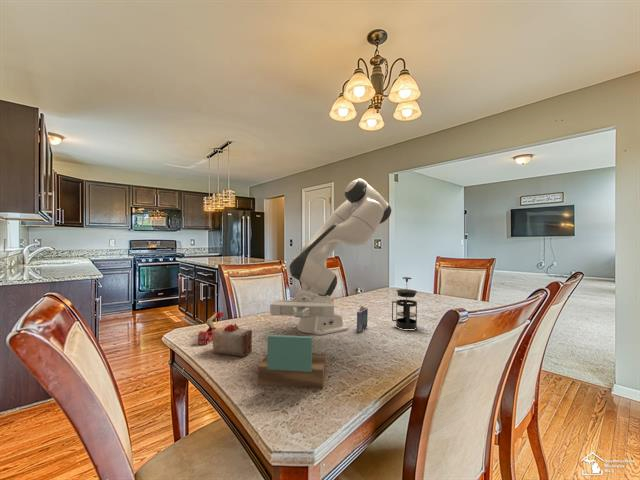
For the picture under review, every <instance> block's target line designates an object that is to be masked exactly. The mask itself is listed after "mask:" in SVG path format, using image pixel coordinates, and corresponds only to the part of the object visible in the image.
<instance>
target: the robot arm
mask: <svg viewBox="0 0 640 480" xmlns="http://www.w3.org/2000/svg"><path fill="white" fill-rule="evenodd" d="M344 196H345V198H346V200H345V201H344V202H343V203H341V204H340V205H339V206H338V207H337V208H336V209H335V210H334V211H333V212H332V214H331V215H330V216H329V217H328V218H327V219H326V221H325V222H324V223H323V224H322V225H321V226H320V228H319V229H318V230H317V231H316V232H315V233H314V234H313V235H312V236H311V238H310V239H308V240H307V242H306V243H305V244H304V245H303V247H302V248H301V251H300V253H299V254H297V255H296V256H295V257H294V258H293V259H292V260H291V262H290V264H289V272H290V275H291V277H292V278H294V279H296V280H297V281H300V282H301V289H300V290H299V291H298V292H297V293H296V294H295V295H294V296H293V299H277V300H275V301H273V302H271V303H270V305H269V314H270V315H271V316H279V317H280V316H281V317H282V316H283V317H284V316H285V317H289V316H290V317H294V318H299V320H298V325H297V330H298V331H299V332H302V333H306V334H314V335H319V336H321V335H327V334H332V333H337V332H338V333H339V332H344V331H348V330H349V327H348V324H346V323H345V322H343V321H344V320H343V316H342V314H341V313H340V312H339V311H338V310H337V309H336V308H335V304H334V299H333V298H332V297H331V296H332V295H333V293H334V291H335V289H336V287H337V286H338V285H337V284H338V276H337V274H336V273H335V272H333V271H332V270H331V269H329V268H328V267H327V260H328V258H329V257H330V256H331V255H332V253H333V252H334V251H335V250H336V249H337V248H338V246H339V245H340V243H341V244H344V245H348V246H356V247H357V246H362V245H364V244H366V243H367V241H369V240H370V238H371V237H372V236H373V235H374V233H375V231H376V230H377V228H378V227H379V225H381V224H382V223H384V222H386V221H387V220H388V219H389V218H390V217H391V213H392V207H391V206H390V204H389V202H387V201H386V200H385V198H384V197H383V195H381V194H380V192H378V191H377V190H376V189H375V188H373V186H371V185H370V184H368V182H367V181H366V180H365V179H362V178H356V179H354V180H352V181H351V182H350V183H348V184H347V186H346V188H345V190H344Z"/></svg>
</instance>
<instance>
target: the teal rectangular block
mask: <svg viewBox="0 0 640 480" xmlns="http://www.w3.org/2000/svg"><path fill="white" fill-rule="evenodd" d="M266 349H267V351H266V355H267V369H270V370H287V371H305V372H311V371H312V353H313V336H306V335H305V336H304V335H284V334H283V335H282V334H281V335H279V334H268V335H267V348H266Z"/></svg>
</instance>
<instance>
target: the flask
mask: <svg viewBox="0 0 640 480" xmlns="http://www.w3.org/2000/svg"><path fill="white" fill-rule="evenodd" d="M368 311H369V310H368V308H367V307H365V306H364V305H362V304H361V305H359V309H358V310H357V312H356V333H363V332H364V331H363V329H364V330H366V329H367V328H368V313H369V312H368ZM366 327H367V328H366ZM365 328H366V329H365ZM362 331H363V332H362Z"/></svg>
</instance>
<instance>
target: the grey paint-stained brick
mask: <svg viewBox="0 0 640 480" xmlns="http://www.w3.org/2000/svg"><path fill="white" fill-rule="evenodd" d="M215 328H216V329H215V330H214V331H212V337H213V338H212V339H213V340H212V354H216V355H217V354H218V355H227V356H233V357H242V358H245V357H246V356H249V354H251V353H252V351H253V346H252V344H253V342H252V341H253V330H251V329H247V328H246V329H244V328H240V327H239V326H238V325H237V323H234V324H232V323H231V324H229V325H228V326H226V327H223V326H222V327H215Z"/></svg>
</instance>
